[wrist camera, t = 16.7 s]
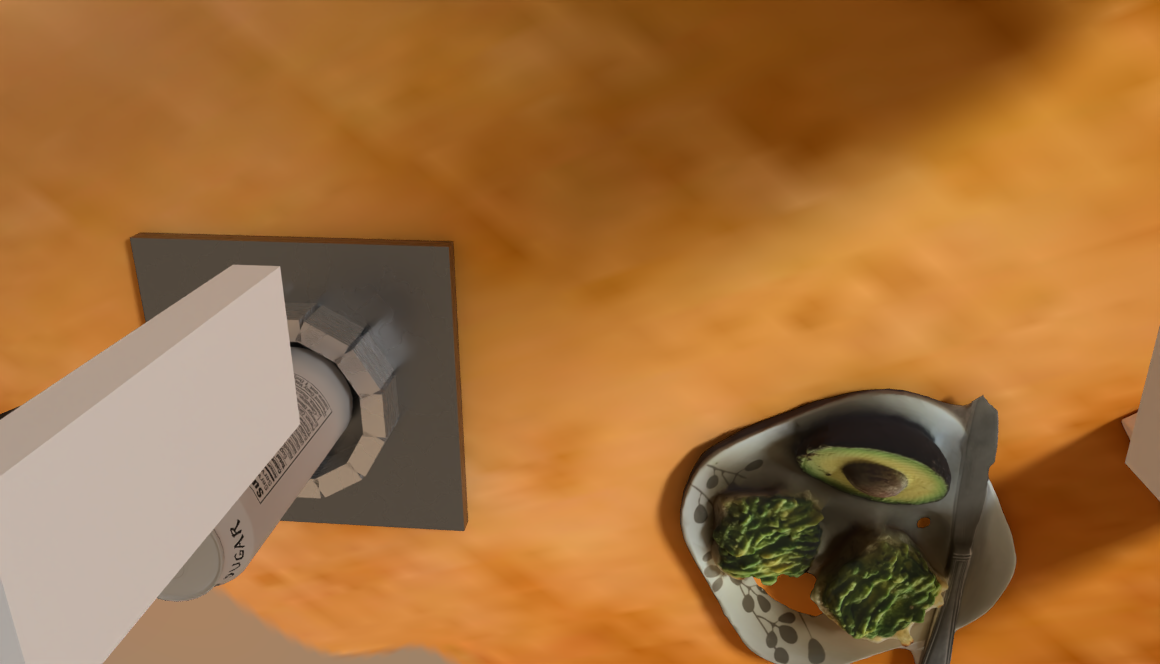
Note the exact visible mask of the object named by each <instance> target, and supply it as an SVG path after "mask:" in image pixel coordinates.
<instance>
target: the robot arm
mask: <svg viewBox="0 0 1160 664" xmlns="http://www.w3.org/2000/svg"><path fill="white" fill-rule="evenodd" d="M299 425H300V419H299V411H298V403H297V395H296V387H295V379H294V372H293V364H292V356H291V348H290V340H289V332H288V325H287V317H286V309H285V301H284V293H283V285H282V277H281V270H280V266H258V265H232V266H230V267H229V268H227V269H226V270H224V271H223V272H221V273H220V274H218V275H217V276H215V277H214V278H212V279H211V280H209V281H208V282H206V283H205V284H203V285H202V286H200V287H199V288H197V289H196V290H194V291H193V292H191V293H190V294H188V295H187V296H185V297H184V298H182V299H181V300H179V301H178V302H176V303H175V304H173V305H172V306H170V307H169V308H167V309H166V310H164V311H163V312H161V313H160V314H158V315H157V316H155V317H154V318H152V319H151V320H149V321H148V322H146V323H145V324H143V325H142V326H140V327H139V328H137V329H136V330H134V331H133V332H131V333H130V334H128V335H127V336H125V337H124V338H122V339H121V340H119V341H118V342H116V343H115V344H113V345H112V346H110V347H109V348H107V349H106V350H104V351H103V352H101V353H100V354H98V355H97V356H95V357H94V358H92V359H91V360H89V361H88V362H86V363H85V364H83V365H82V366H80V367H79V368H77V369H76V370H74V371H73V372H71V373H70V374H68V375H67V376H65V377H64V378H62V379H61V380H59V381H58V382H56V383H55V384H53V385H52V386H50V387H49V388H47V389H46V390H44V391H43V392H41V393H40V394H38V395H37V396H35V397H34V398H32V399H31V400H29V401H28V402H26V403H25V404H23V405H22V406H19V407H17V408H14V409H12V410H9V411H7V412H4V413H2V414H0V664H102V663H103V662H104V661H105V660H106V659H107V657H108V656H109V655H110V654H111V652H112V651H113V650H114V649H115V648H116V647H117V645H118V644H119V643H120V642H121V640H122V639H123V638H124V637H125V636H126V634H127V633H128V632H129V631H130V630H131V628H132V627H133V626H134V624H135V623H136V622H137V621H138V620H139V619H140V617H141V616H142V615H143V614H144V613H145V611H146V610H147V609H148V608H149V607H150V605H151V604H152V603H153V602H154V600H155V599H156V598H157V597H158V596H159V594H160V593H161V592H162V591H163V590H164V588H165V587H166V586H167V585H168V584H169V582H170V581H171V580H172V579H173V577H174V576H175V575H176V574H177V573H178V571H179V570H180V569H181V568H182V567H183V565H184V564H185V563H186V562H187V561H188V559H189V558H190V557H191V556H192V554H193V553H194V552H195V551H196V550H197V548H198V547H199V546H200V545H201V544H202V542H203V541H204V540H205V539H206V537H207V536H208V535H209V534H210V533H211V531H212V530H213V529H214V528H215V527H216V525H217V524H218V523H219V522H220V521H221V519H222V518H223V517H224V516H225V514H226V513H227V512H228V511H229V510H230V508H231V507H232V506H233V505H234V504H235V502H236V501H237V500H238V499H239V498H240V496H241V495H242V494H243V493H244V491H245V490H246V489H247V488H248V487H249V485H250V484H251V483H252V482H253V481H254V479H255V478H256V477H257V476H258V474H259V473H260V472H261V471H262V470H263V468H264V467H265V466H266V465H267V464H268V462H269V461H270V460H271V459H272V458H273V456H274V455H275V454H276V453H277V451H278V450H279V449H280V448H281V447H282V445H283V444H284V443H285V442H286V441H287V439H288V438H289V437H290V436H291V434H292V433H293V432H294V431H295V430H296V428H297V427H298V426H299ZM1125 464H1126V465H1127V466H1128V467H1129V468H1130V469H1131V470H1132V471H1133V472H1134V473H1135V475H1136V476H1137V477H1138V478H1139V479H1140V480H1141V481H1142V482H1143V483H1144V484H1145V486H1146V487H1147V488H1148V489H1149V490H1150V491H1151V492H1152V493H1153V494H1154V495H1155V497H1156V498H1157V499H1158V500H1159V501H1160V327H1159V331H1158V335H1157V339H1156V343H1155V347H1154V351H1153V355H1152V358H1151V362H1150V366H1149V370H1148V374H1147V378H1146V382H1145V386H1144V390H1143V394H1142V398H1141V402H1140V405H1139V409H1138V413H1137V417H1136V421H1135V425H1134V429H1133V433H1132V437H1131V441H1130V445H1129V449H1128V452H1127V456H1126V460H1125Z"/></svg>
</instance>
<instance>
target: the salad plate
mask: <svg viewBox="0 0 1160 664" xmlns="http://www.w3.org/2000/svg"><path fill="white" fill-rule="evenodd" d="M997 442H998V411H997V410H996V409H995V408H993V406H992V405H990V404H989V403H988V401H987V400H986V399H985V398H984V396H981V397H979V398H977V399H976V400H974V401H972V402H971V403H970V404H968V405H963V406H962V405H953V404H948V403H944V402H941V401H938V400H935V399H932V398H930V397H927V396H923V395H920V394H916V393H912V392H909V391H904V390H895V389H877V390H865V391H857V392H852V393H847V394H843V395H839V396H836V397H832V398H828V399H823V400H819V401H815V402H812V403H810V404H807V405H805V406H802V407H799V408H797V409H794V410H791V411H788V412H786V413H783V414H780V415H777V416H774V417H771V418H769V419H766V420H764V421H761V422H759V423H756V424H754V425H751V426H749V427H747V428H745V429H743V430H741V431H739V432H737V433H735V434H733V435H732V436H730V437H728V438H726V439H724V440H723V441H721V442H719V443H717V444H716V445H714V446H712V447H711V448H709V449H708V450H707V451H705V452H704V453H703V454H702V455H701V457H700V458H699V460H698V461H697V463H696V465H695V466H694V468H693V470H692V472H691V474H690V477H689V479H688V481H687V484H686V486H685V489H684V492H683V498H682V504H681V509H680V524H681V528H682V533H683V537H684V540H685V542H686V544H687V547H688V549H689V551H690V553H691V555H692V556H693V558H694V560H695V562H696V564H697V566H698V568H699V569H700V571H701V572H702V574H703V575H704V577H705V579H706V581H707V582H708V584H709V586H710V588H711V590H712V592H713V594H714V595H715V597H716V598H717V600H718V601H719V603H720V606H721V608H722V610H723V613H724V615H725V616H726V617H727V618H728V620H729V622H730V623H731V624H732V626H733V627H734V629H735V630H736V632H737V633H738V634H739V636H740V638H741V639H742V641H743V642H744V644H745V645H746V646H747V647H748V648H749V649H750V650H751V651H752V652H754V653H755V654H757V655H758V656H760V657H762V658H764V659H766V660H768V661H771V662H773V663H775V664H850V663H853V662H855V661H858V660H861V659H865V658H868V657H870V656H873V655H876V654H879V653H882V652H885V651H889V650H892V649H896V648H905V649H907V650H910V651H911V652H912V654H913V657H914V660H915V664H950V661H951V653H952V645H953V639H954V633H955V632H956V631H957V630H958V629H959V628H962V627H964V626H965V625H967V624H969V623H971V622H973V621H975V620H976V619H978V618H979V617H981V616H982V615H984V614H985V613H986V612H987V611H989V610H990V609H991V608H992V607H993V605H994V604H995V603H996V602H997V600H998V599H999V598H1000V597H1001V595H1002V593H1003V592H1004V590H1005V589H1006V587H1007V586H1008V584H1009V582H1010V580H1011V579H1012V577H1013V574H1014V571H1015V567H1016V553H1015V547H1014V542H1013V538H1012V534H1011V531H1010V528H1009V525H1008V523H1007V521H1006V519H1005V516H1004V514H1003V511H1002V508H1001V506H1000V503H999V500H998V497H997V495H996V493H995V491H994V489H993V486H992V484H991V482H990V480H989V477H988V471H989V468H990V466H991V465H992V464H993V463H994V462H995V456H996V450H997ZM924 517H926V518H929V519H930V524H929V526H927V527H924V528H918V527H917V522H918V520H920V519H921V518H924ZM804 573H810V574H813V575H814V576H815V577H816V579H817V580H816V583H815V586H814V589H813V590H812V592H811V595H810V598H811V600H813V601H814V602H815V603H816V604H817V606H818V607H819V609H820V610H821V611H822V612H823V614H821V615H819V616H816V617H815V616H811V615H808V614H804V613H800V612H797V611H795V610H792V609H790V608H788V607H787V606H785V605H783V604H781V603H779V602H777V601H775V600H774V599H773V598H771V597H770V596H769V595H768V594H767V593H766V592H765V590H764V589H762V588H761V587H759V586H758V585H757V584H756V582H755V580H754V578H753V577H756V578H758V579H759V578H760V579H761V582H762V584H763V585H768V586H770V585H773V584H774V583H775V582H776V581H777V576H779V575H780V574H785V575H788V576H789V577H797V578H798V577H799V576H801V575H802V574H804Z"/></svg>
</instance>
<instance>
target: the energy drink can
mask: <svg viewBox="0 0 1160 664" xmlns="http://www.w3.org/2000/svg"><path fill="white" fill-rule="evenodd" d="M290 348H291V356H292V364H293V372H294V379H295V387H296V395H297V403H298V411H299V419H300V425H299V426H298V427H297V428H296V430H295V431H294V432H293V433H292V434H291V436H290V437H289V438H288V439H287V441H286V442H285V443H284V444H283V445H282V447H281V448H280V449H279V450H278V451H277V453H276V454H275V455H274V456H273V458H272V459H271V460H270V461H269V462H268V464H267V465H266V466H265V467H264V468H263V470H262V471H261V472H260V473H259V474H258V476H257V477H256V478H255V479H254V481H253V482H252V483H251V484H250V485H249V487H248V488H247V489H246V490H245V491H244V493H243V494H242V495H241V496H240V498H239V499H238V500H237V501H236V502H235V504H234V505H233V506H232V507H231V508H230V510H229V511H228V512H227V513H226V514H225V516H224V517H223V518H222V519H221V521H220V522H219V523H218V524H217V525H216V527H215V528H214V529H213V530H212V531H211V533H210V534H209V535H208V536H207V537H206V539H205V540H204V541H203V542H202V544H201V545H200V546H199V547H198V548H197V550H196V551H195V552H194V553H193V554H192V556H191V557H190V558H189V559H188V561H187V562H186V563H185V564H184V565H183V567H182V568H181V569H180V570H179V571H178V573H177V574H176V575H175V576H174V577H173V579H172V580H171V581H170V582H169V584H168V585H167V586H166V587H165V588H164V590H163V591H162V592H161V593H160V594H159V596H158V597H157V598H158V599H162V600H165V601H166V600H167V601H176V602H177V601H188V600H192V599H195V598H198V597H200V596H202V595H204V594H206V593H207V592H209V591H210V590H211V589H212V588H213V587H215V586H218V585H222V584H225V583H227V582H229V581H231V580H232V579H234V578H236V577H237V576H238V575H239V574H241V573H242V572H243V571H244V570H245V568H246V567H247V566H248V564H249V563H250V561H251V560H252V559H253V557H254V556H255V554H256V553H257V552H258V550H259V549H260V547H261V546H262V545H263V543H264V542H265V540H266V539H267V538H268V536H269V535H270V534H271V532H272V531H273V529H274V528H275V527H276V525H277V524H278V522H279V521H280V520H281V518H282V517H283V515H284V514H285V513H286V511H287V510H288V508H289V507H290V506H291V504H292V503H293V501H294V500H295V499H296V497H297V496H298V495H299V493H300V492H301V490H302V489H303V488H304V486H305V485H306V483H307V482H308V481H309V479H310V478H311V476H312V475H313V474H314V472H315V471H316V469H317V468H318V467H319V465H320V464H321V463H322V461H323V460H324V458H325V457H326V456H327V454H328V453H329V451H330V450H331V449H332V447H333V446H334V444H335V443H336V442H337V440H338V439H339V437H340V436H341V435H342V433H343V432H344V430H345V429H346V428H347V426H348V424H349V422H350V419H351V417H352V411H353V398H352V394H351V390H350V387H349V385H348V383H347V381H346V379H345V377H344V376H343V374H342V373H341V371H340V370H339V369H338V367H337V366H336V365H335V364H334V363H332V362H331V361H330V360H329V359H327V358H326V357H324V356H322V355H320V354H318V353H316V352H313V351H311V350H308V349H304V348H300V347H290Z"/></svg>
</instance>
